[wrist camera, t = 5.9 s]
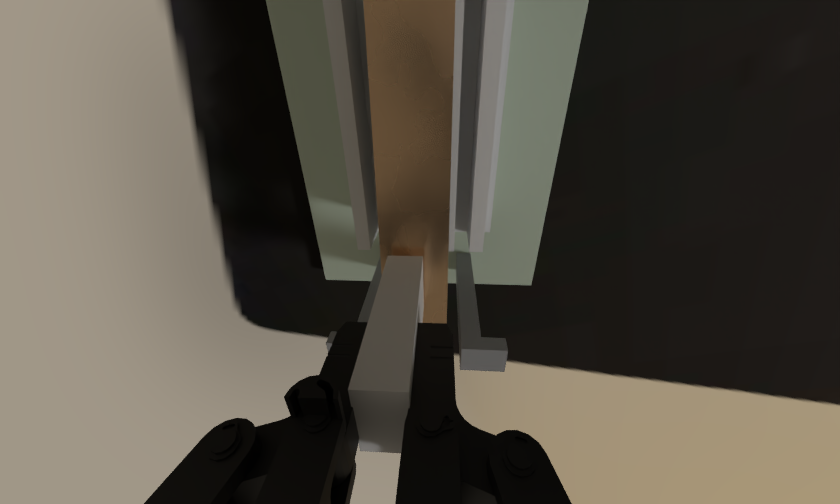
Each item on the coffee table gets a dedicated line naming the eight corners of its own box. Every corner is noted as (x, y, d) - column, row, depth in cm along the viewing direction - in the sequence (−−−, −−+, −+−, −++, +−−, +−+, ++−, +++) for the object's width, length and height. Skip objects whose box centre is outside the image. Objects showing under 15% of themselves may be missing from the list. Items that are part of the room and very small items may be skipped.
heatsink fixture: (238, -184, 14) (-131, -625, 5) (621, -217, 12) (1031, -873, 4) (330, 271, 26) (271, 375, 17) (527, 276, 25) (571, 391, 16)
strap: (353, -218, 9) (325, -318, 7) (464, -228, 9) (470, -335, 7) (389, 360, 18) (382, 393, 16) (446, 362, 17) (446, 396, 15)
